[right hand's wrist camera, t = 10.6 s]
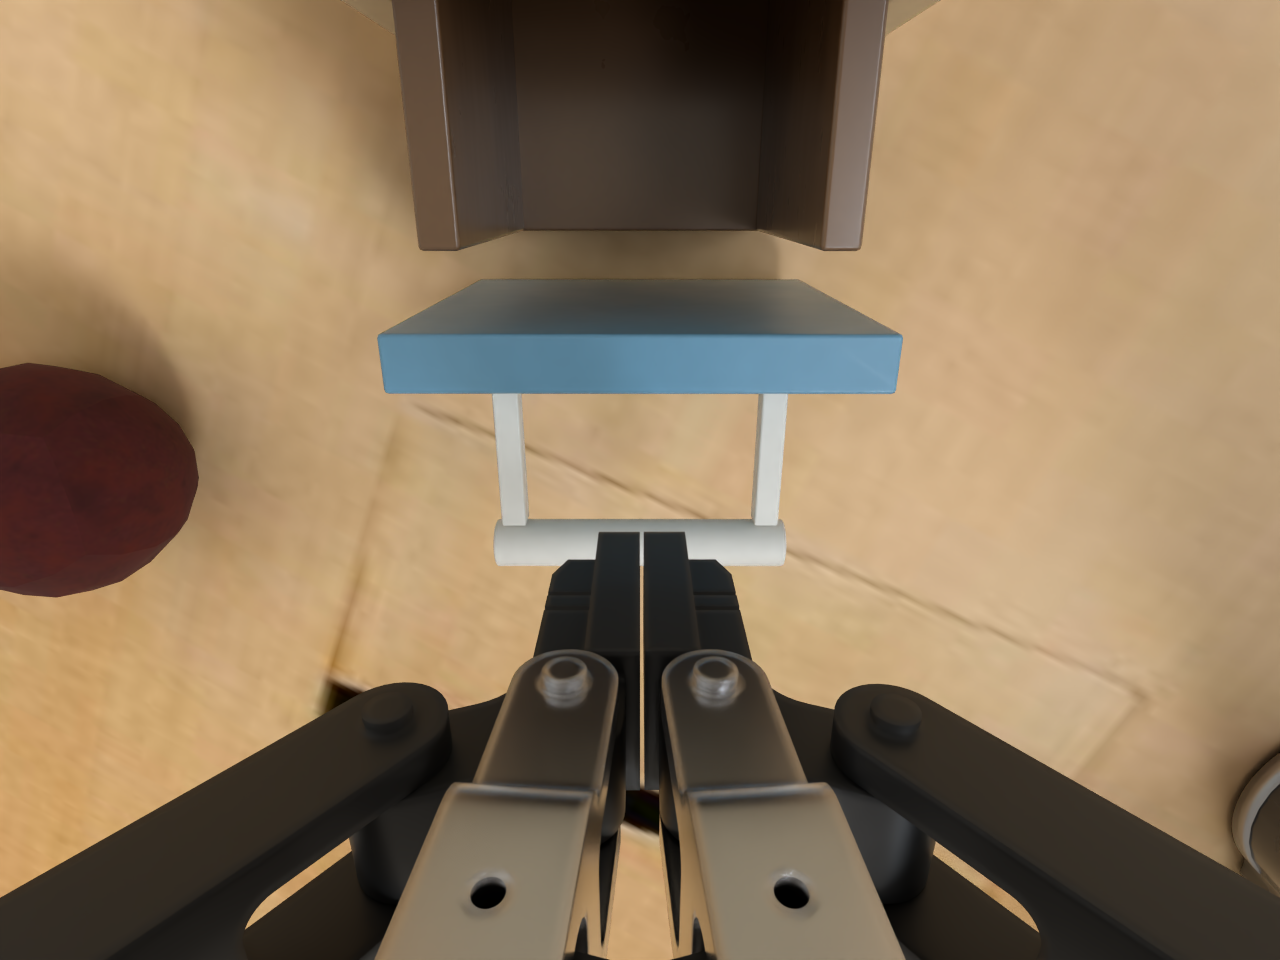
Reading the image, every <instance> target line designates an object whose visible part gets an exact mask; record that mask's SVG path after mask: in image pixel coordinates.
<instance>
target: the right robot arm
mask: <svg viewBox="0 0 1280 960" xmlns="http://www.w3.org/2000/svg"><path fill="white" fill-rule="evenodd" d="M643 646H644V774H645V790H659V800H660V850H661V858H662V867H663V875H664V884H665V892H666V900H667V909H668V917H669V925H670V934H671V942H672V951H673V959H672V960H1280V753H1279V754H1277V755H1276V756H1274V757H1273V758H1272V759H1271V760H1270V761H1268V762H1267V763H1266V764H1265V765H1264V766H1263V767H1262V768H1261V769H1260V770H1259V771H1258V772H1257V773H1256V774H1255V775H1254V776H1253V777H1252V779H1251V780H1250V781H1249V783H1248V784H1247V785H1246V787H1245V788H1244V790H1243V791H1242V793H1241V795H1240V797H1239V799H1238V801H1237V804H1236V806H1235V809H1234V813H1233V818H1232V834H1233V839H1234V841H1235V844H1236V846H1237V848H1238V850H1239V851H1240V853H1241V854H1242V855H1243V857H1244V863H1243V865H1242V867H1241V870H1240V873H1241V875H1242V876H1243V877H1242V876H1240V875H1239V874H1237V873H1235V872H1233V871H1232V870H1230V869H1228V868H1226V867H1225V866H1223V865H1221V864H1219V863H1217V862H1216V861H1214V860H1212V859H1210V858H1209V857H1207V856H1205V855H1203V854H1202V853H1200V852H1198V851H1196V850H1195V849H1193V848H1191V847H1189V846H1187V845H1186V844H1184V843H1182V842H1180V841H1179V840H1177V839H1175V838H1173V837H1172V836H1170V835H1168V834H1166V833H1165V832H1163V831H1161V830H1159V829H1157V828H1156V827H1154V826H1152V825H1150V824H1149V823H1147V822H1145V821H1143V820H1142V819H1140V818H1138V817H1136V816H1135V815H1133V814H1131V813H1129V812H1128V811H1126V810H1124V809H1122V808H1120V807H1119V806H1117V805H1115V804H1113V803H1112V802H1110V801H1108V800H1106V799H1105V798H1103V797H1101V796H1099V795H1098V794H1096V793H1094V792H1092V791H1090V790H1089V789H1087V788H1085V787H1083V786H1082V785H1080V784H1078V783H1076V782H1075V781H1073V780H1071V779H1069V778H1068V777H1066V776H1064V775H1062V774H1061V773H1059V772H1057V771H1055V770H1053V769H1052V768H1050V767H1048V766H1046V765H1045V764H1043V763H1041V762H1039V761H1038V760H1036V759H1034V758H1032V757H1031V756H1029V755H1027V754H1025V753H1023V752H1022V751H1020V750H1018V749H1016V748H1015V747H1013V746H1011V745H1009V744H1008V743H1006V742H1004V741H1002V740H1001V739H999V738H997V737H995V736H994V735H992V734H990V733H988V732H986V731H985V730H983V729H981V728H979V727H978V726H976V725H974V724H972V723H971V722H969V721H967V720H965V719H964V718H962V717H960V716H958V715H956V714H955V713H953V712H951V711H949V710H948V709H946V708H944V707H942V706H941V705H939V704H937V703H935V702H934V701H932V700H930V699H928V698H926V697H925V696H923V695H921V694H919V693H916V692H914V691H911V690H908V689H905V688H902V687H898V686H892V685H885V684H867V685H861V686H858V687H854V688H852V689H850V690H848V691H846V692H845V693H844V694H842V695H841V696H840V698H839V699H838V700H837V702H836V705H835V710H833V709H829V708H824V707H820V706H816V705H811V704H807V703H803V702H799V701H796V700H793V699H791V698H788V697H786V696H784V695H782V694H780V693H778V692H777V691H775V690H773V689H772V688H771V685H770V683H769V680H768V678H767V676H766V674H765V672H764V671H763V670H762V669H761V667H759V666H758V665H757V664H756V663H755V662H753V661H752V658H751V654H750V650H749V645H748V641H747V637H746V633H745V629H744V625H743V621H742V616H741V612H740V610H739V604H738V600H737V596H736V592H735V587H734V583H733V579H732V575H731V574H730V573H729V572H728V571H727V570H726V569H725V568H724V567H723V566H722V565H721V564H720V563H719V562H718V561H717V560H716V559H689V558H688V551H687V543H686V536H685V532H644V576H643ZM626 790H640V532H599V534H598V541H597V549H596V558H595V559H568V560H567V561H566V562H565V563H564V564H563V565H562V566H561V567H560V568H559V569H558V570H557V571H556V572H554V573H553V574H552V578H551V583H550V587H549V591H548V596H547V600H546V604H545V610H544V613H543V617H542V622H541V626H540V630H539V635H538V639H537V643H536V648H535V652H534V656H533V658H532V659H530V660H528V661H527V662H525V663H524V664H523V665H522V666H521V667H519V669H518V670H517V671H516V672H515V674H514V676H513V678H512V680H511V683H510V685H509V688H508V691H507V693H505V694H503V695H501V696H499V697H497V698H495V699H492V700H490V701H487V702H483V703H479V704H475V705H471V706H466V707H462V708H457V709H453V710H448V705H447V702H446V699H445V698H444V697H443V695H442V694H441V693H440V692H438V691H437V690H436V689H434V688H432V687H430V686H427V685H423V684H418V683H406V682H404V683H393V684H387V685H383V686H379V687H376V688H373V689H370V690H368V691H365V692H363V693H361V694H359V695H357V696H355V697H354V698H352V699H350V700H348V701H346V702H345V703H343V704H341V705H339V706H338V707H336V708H334V709H332V710H331V711H329V712H327V713H325V714H324V715H322V716H320V717H318V718H316V719H315V720H313V721H311V722H309V723H308V724H306V725H304V726H302V727H301V728H299V729H297V730H295V731H294V732H292V733H290V734H288V735H287V736H285V737H283V738H281V739H279V740H278V741H276V742H274V743H272V744H271V745H269V746H267V747H265V748H264V749H262V750H260V751H258V752H257V753H255V754H253V755H251V756H249V757H248V758H246V759H244V760H242V761H241V762H239V763H237V764H235V765H234V766H232V767H230V768H228V769H227V770H225V771H223V772H221V773H220V774H218V775H216V776H214V777H212V778H211V779H209V780H207V781H205V782H204V783H202V784H200V785H198V786H197V787H195V788H193V789H191V790H190V791H188V792H186V793H184V794H182V795H181V796H179V797H177V798H175V799H174V800H172V801H170V802H168V803H167V804H165V805H163V806H161V807H160V808H158V809H156V810H154V811H153V812H151V813H149V814H147V815H145V816H144V817H142V818H140V819H138V820H137V821H135V822H133V823H131V824H130V825H128V826H126V827H124V828H123V829H121V830H119V831H117V832H115V833H114V834H112V835H110V836H108V837H107V838H105V839H103V840H101V841H100V842H98V843H96V844H94V845H93V846H91V847H89V848H87V849H86V850H84V851H82V852H80V853H78V854H77V855H75V856H73V857H71V858H70V859H68V860H66V861H64V862H63V863H61V864H59V865H57V866H56V867H54V868H52V869H50V870H48V871H47V872H45V873H43V874H41V875H40V876H38V877H36V878H34V879H33V880H31V881H29V882H27V883H26V884H24V885H22V886H20V887H18V888H17V889H15V890H13V891H11V892H10V893H8V894H6V895H4V896H3V897H1V898H0V960H608V959H607V951H608V942H609V934H610V925H611V917H612V909H613V900H614V892H615V884H616V875H617V867H618V858H619V850H620V825H621V824H622V821H623V818H624V814H625V792H626ZM348 838H349V840H350V845H351V849H352V851H351V852H350V853H348V854H347V855H346V856H344V857H343V858H342V859H340V860H339V861H338V862H336V863H335V864H333V865H332V866H331V867H329V868H328V869H327V870H325V871H324V872H323V873H321V874H320V875H319V876H317V877H316V878H315V879H313V880H312V881H310V882H309V883H308V884H306V885H305V886H304V887H302V888H301V889H300V890H298V891H297V892H296V893H294V894H293V895H292V896H290V897H289V898H287V899H286V900H285V901H283V902H282V903H281V904H279V905H278V906H277V907H275V908H274V909H273V910H271V911H270V912H269V913H267V914H266V915H264V916H263V917H262V918H260V919H259V920H258V921H256V922H255V923H254V924H252V925H251V926H250V927H248V928H247V929H245V928H246V925H247V923H248V921H249V919H250V917H251V916H252V914H253V913H254V911H255V910H256V909H257V907H258V906H259V905H260V904H261V903H262V902H263V901H264V900H265V899H266V898H267V897H268V896H269V895H271V894H272V893H273V892H274V891H276V890H277V889H278V888H280V887H281V886H283V885H284V884H285V883H287V882H288V881H290V880H291V879H292V878H294V877H295V876H296V875H298V874H299V873H301V872H302V871H303V870H305V869H306V868H308V867H309V866H310V865H312V864H313V863H314V862H316V861H317V860H319V859H320V858H321V857H323V856H324V855H326V854H327V853H328V852H330V851H331V850H333V849H334V848H335V847H337V846H338V845H339V844H341V843H342V842H344V841H345V840H346V839H348ZM935 841H936V842H938V843H939V844H941V845H942V846H943V847H945V848H946V849H948V850H949V851H950V852H952V853H953V854H954V855H956V856H957V857H959V858H960V859H961V860H963V861H964V862H966V863H967V864H968V865H970V866H971V867H972V868H974V869H975V870H977V871H978V872H979V873H981V874H982V875H984V876H985V877H986V878H988V879H989V880H990V881H992V882H993V883H995V884H996V885H997V886H999V887H1000V888H1002V889H1003V890H1004V891H1006V892H1007V893H1008V894H1010V895H1011V896H1012V897H1014V898H1015V899H1016V900H1017V901H1018V902H1019V903H1020V904H1021V905H1022V906H1023V907H1024V908H1025V909H1026V910H1027V911H1028V913H1029V914H1030V916H1031V917H1032V918H1033V920H1034V922H1035V924H1036V925H1037V928H1038V930H1039V932H1037V931H1036V930H1035V929H1033V928H1032V927H1030V926H1029V925H1028V924H1026V923H1025V922H1024V921H1022V920H1021V919H1020V918H1018V917H1017V916H1016V915H1014V914H1013V913H1012V912H1010V911H1009V910H1007V909H1006V908H1005V907H1003V906H1002V905H1001V904H999V903H998V902H997V901H995V900H994V899H993V898H991V897H990V896H989V895H987V894H986V893H984V892H983V891H982V890H980V889H979V888H978V887H976V886H975V885H974V884H972V883H971V882H970V881H968V880H967V879H966V878H964V877H963V876H961V875H960V874H959V873H957V872H956V871H955V870H953V869H952V868H951V867H949V866H948V865H947V864H945V863H944V862H942V861H941V860H940V859H938V858H937V857H936V856H934V855H933V851H934V846H935Z"/></svg>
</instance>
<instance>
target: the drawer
mask: <svg viewBox="0 0 1280 960" xmlns="http://www.w3.org/2000/svg"><path fill="white" fill-rule="evenodd" d="M888 5H889V0H392V9H393V19H394V28H395V37H396V46H397V55H398V64H399V73H400V82H401V91H402V100H403V109H404V118H405V128H406V137H407V146H408V155H409V164H410V173H411V182H412V191H413V200H414V209H415V218H416V227H417V237H418V246H419V248H420V249H421V250H423V251H458V250H461V249H464V248H467V247H471V246H474V245H477V244H480V243H484V242H487V241H490V240H493V239H497V238H500V237H503V236H506V235H510V234H513V233H516V232H519V231H761V232H764V233H768V234H771V235H774V236H777V237H781V238H784V239H787V240H790V241H794V242H797V243H800V244H803V245H807V246H810V247H813V248H816V249H820V250H823V251H857V250H859V249H860V248H861V246H862V238H863V229H864V220H865V211H866V202H867V193H868V184H869V175H870V166H871V158H872V149H873V140H874V131H875V122H876V113H877V104H878V95H879V86H880V77H881V68H882V59H883V50H884V41H885V32H886V23H887V14H888ZM377 339H378V346H379V354H380V361H381V368H382V376H383V383H384V390H385V392H386V393H389V394H492V400H493V413H494V426H495V438H496V451H497V464H498V476H499V489H500V501H501V514H502V519H499V520H498V521H497V523H496V526H495V531H494V557H495V561H496V564H497V565H499V566H562V565H563V564H564V563H565V562H566V561H567V560H568V559H595V558H596V549H597V541H598V534H599V532H640V566H644V532H685V536H686V543H687V551H688V558H689V559H716V560H717V561H718V562H719V563H720V564H721V565H722V566H782V565H783V564H784V561H785V556H786V532H785V526H784V523H783V521H782V520H781V519H778V513H779V500H780V488H781V476H782V463H783V451H784V438H785V426H786V414H787V401H788V394H892V393H895V390H896V385H897V377H898V370H899V363H900V356H901V349H902V341H903V337H902V335H901V334H899V333H897V332H895V331H893V330H891V329H890V328H888V327H886V326H884V325H882V324H880V323H878V322H877V321H875V320H873V319H871V318H869V317H867V316H865V315H864V314H862V313H860V312H858V311H856V310H854V309H852V308H851V307H849V306H847V305H845V304H843V303H841V302H839V301H838V300H836V299H834V298H832V297H830V296H828V295H826V294H825V293H823V292H821V291H819V290H817V289H815V288H813V287H811V286H810V285H808V284H806V283H804V282H802V281H800V280H622V279H482V280H479V281H478V282H476V283H474V284H472V285H470V286H468V287H466V288H465V289H463V290H461V291H459V292H457V293H455V294H453V295H451V296H450V297H448V298H446V299H444V300H442V301H440V302H438V303H437V304H435V305H433V306H431V307H429V308H427V309H425V310H424V311H422V312H420V313H418V314H416V315H414V316H412V317H410V318H409V319H407V320H405V321H403V322H401V323H399V324H397V325H396V326H394V327H392V328H390V329H388V330H386V331H384V332H383V333H381V334H379V335H378V338H377ZM521 394H759V399H758V414H757V430H756V445H755V461H754V476H753V491H752V507H751V517H752V519H528V517H529V506H528V490H527V474H526V459H525V443H524V427H523V411H522V395H521Z"/></svg>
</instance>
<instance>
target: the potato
mask: <svg viewBox="0 0 1280 960" xmlns="http://www.w3.org/2000/svg"><path fill="white" fill-rule="evenodd" d="M198 479H199V477H198V470H197V464H196V458H195V452H194V449H193V448H192V446H191V444H190V443H189V441H188V439H187V438H186V436H185V434H184V433H183V431H182V429H181V428H180V426H179V425H178V424H177V423H176V422H175V421H174V420H173V419H172V418H171V417H170V416H168V415H167V414H166V413H165V412H164V411H163V410H162V409H161V408H159V407H158V406H157V405H156V404H155V403H153V402H151V401H150V400H148V399H146V398H144V397H142V396H140V395H138V394H136V393H134V392H132V391H130V390H128V389H126V388H124V387H122V386H120V385H118V384H116V383H114V382H112V381H110V380H108V379H107V378H105V377H103V376H101V375H98V374H93V373H88V372H83V371H78V370H73V369H67V368H62V367H56V366H48V365H40V364H32V363H25V364H20V365H15V366H10V367H5V368H1V369H0V590H4V591H9V592H13V593H18V594H22V595H32V596H45V597H61V596H66V595H71V594H76V593H81V592H86V591H91V590H95V589H98V588H101V587H104V586H107V585H111V584H114V583H117V582H120V581H122V580H124V579H125V578H127V577H128V576H130V575H131V574H133V573H134V572H136V571H137V570H139V569H140V568H142V567H143V566H145V565H146V564H148V563H149V562H151V561H152V560H153V559H154V558H155V557H156V555H157V554H158V553H159V552H160V551H161V550H162V549H163V548H164V547H165V546H166V545H167V544H168V543H169V542H170V541H171V540H172V539H173V538H174V537H175V536H176V534H177V533H178V532H179V530H180V529H181V528H182V526H183V525H184V523H185V522H186V521H187V519H188V516H189V513H190V509H191V506H192V503H193V500H194V496H195V493H196V490H197V486H198Z"/></svg>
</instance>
